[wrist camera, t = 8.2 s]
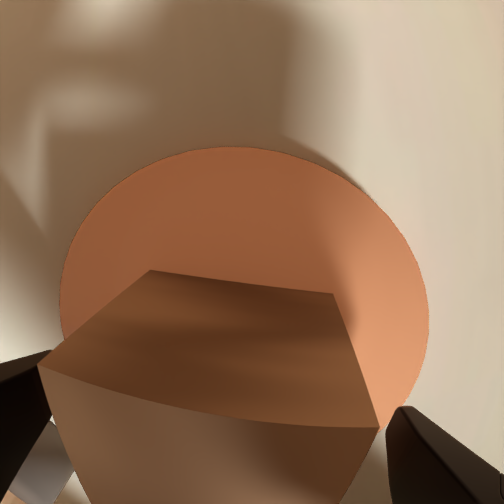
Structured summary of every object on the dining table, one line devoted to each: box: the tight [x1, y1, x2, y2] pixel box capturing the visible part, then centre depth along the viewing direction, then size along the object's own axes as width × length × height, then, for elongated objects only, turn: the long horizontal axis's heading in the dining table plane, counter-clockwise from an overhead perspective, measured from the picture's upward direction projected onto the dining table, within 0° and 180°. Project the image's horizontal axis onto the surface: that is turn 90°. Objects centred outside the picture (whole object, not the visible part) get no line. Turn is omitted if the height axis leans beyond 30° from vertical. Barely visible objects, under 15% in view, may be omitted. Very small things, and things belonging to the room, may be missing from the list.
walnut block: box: [37, 270, 380, 504], centre depth 7 cm, size 5×5×5 cm
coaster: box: [59, 147, 429, 432], centre depth 10 cm, size 12×12×1 cm
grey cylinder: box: [8, 421, 74, 504], centre depth 11 cm, size 4×4×4 cm
